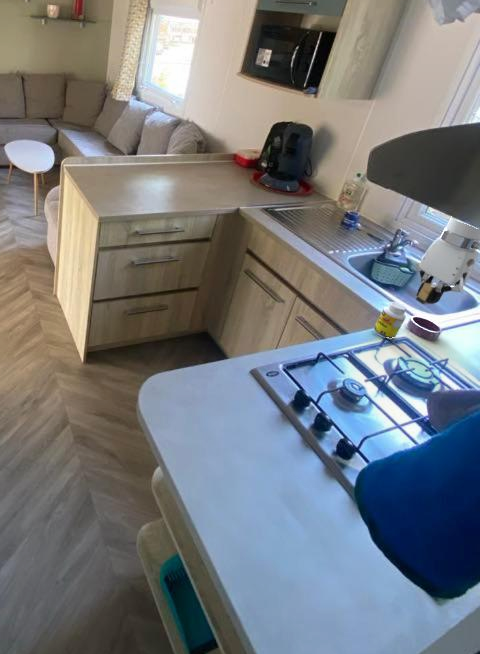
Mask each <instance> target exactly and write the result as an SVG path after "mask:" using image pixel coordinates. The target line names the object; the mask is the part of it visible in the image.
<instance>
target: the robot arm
mask: <svg viewBox="0 0 480 654" xmlns="http://www.w3.org/2000/svg"><path fill="white" fill-rule="evenodd" d="M477 250H478V251H477ZM479 251H480V229H476V228H474V227H472V226H469V225H467V224H464V223H461V222H458V221H456V220H454V219H452V218H451V217H450V219H449V220H448V222H447V224H446V226H445V228H444V229H443V232H442V234H441V235H440V236H438V237H436V238H435V240H434V241H433V242H432V243H431V245H429V246H428V248H427V250H426V251H425V253H424V254H423V256H422V258H421V260H420V262H419V263H417V264H416V265H415V269H416V270H417V272H418V273H419V275H420V276H419V277H420V283H421V284H420V285H419V287H418V289H417V293H416V297H418V295H419V293H420V291H421V289H422V287H423V285H424V284H425V283H434V280H435V279H436V280H438V282H437V284H438V285H437V287H436V289H435V290H432V292H431V293H430V295H429V297H428V299H427V300H426V302H427V303H434V304H437V303H438V302H439V301H440V300H441V298H442V296H443V295H444V293H448V292H455V293H463V292H464V286H465V285H466V284H467V282H468V280H469V279H470V277H471V275H472V273H473V270H474V269H475V266H476V263H477V260H478V256H479Z"/></svg>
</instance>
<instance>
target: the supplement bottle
mask: <svg viewBox="0 0 480 654" xmlns="http://www.w3.org/2000/svg"><path fill="white" fill-rule="evenodd" d="M406 310H407V307H406V306H404V305H403V304H402V303H399V302H396V301H391V302H390V303H389V305H388V306H384V307H383V309H382V311H381V313H380V315H379V317H378V318H377V321H376V322H375V324H374V326H373V331H374V333H375V334H376V335H377V336H379V337H381V338H383V339H385V337H389V338H392V337H395V338H396V336H397V334H398V333H399V331H400V329H401V327H402V325H403V324H404V322H405V321H406V318H407V315H406V314H405V313H406ZM389 338H387V339H386V340H390V339H389ZM395 338H393V339H392V340H394V339H395Z"/></svg>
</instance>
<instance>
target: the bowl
mask: <svg viewBox="0 0 480 654" xmlns="http://www.w3.org/2000/svg"><path fill="white" fill-rule="evenodd" d="M406 325H407V329H408V330H409V332H411V333H412V334H414V335H415V336H417V337H419V338H422V339H424V340H427V341H436V340H438V339H439V338H440V337H441V334H442V333H443V328H442V327H441V326H440V325H439V324H437V323H436V322H435V321H433V320H431V319H428V318H426V317H423V316H419V315H412V316H410V318H409V320H408V321H407V324H406Z"/></svg>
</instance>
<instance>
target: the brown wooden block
mask: <svg viewBox="0 0 480 654" xmlns="http://www.w3.org/2000/svg"><path fill="white" fill-rule="evenodd" d="M437 285H438V282H432V283H425V284H424V285H423V287H422V289H421V291H420V293H419V295H418V296H416V298H415V301H417V302H419V303H420V304H422V305H434V304H435V303H427V302H426V300H427V299H428V297H429V295H430V293H431V292H432V290H435V289H436V287H437Z"/></svg>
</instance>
